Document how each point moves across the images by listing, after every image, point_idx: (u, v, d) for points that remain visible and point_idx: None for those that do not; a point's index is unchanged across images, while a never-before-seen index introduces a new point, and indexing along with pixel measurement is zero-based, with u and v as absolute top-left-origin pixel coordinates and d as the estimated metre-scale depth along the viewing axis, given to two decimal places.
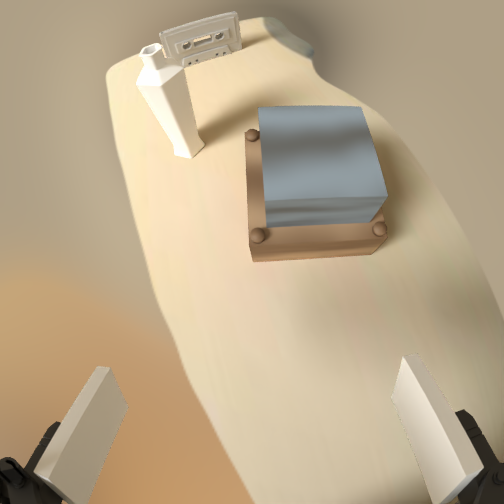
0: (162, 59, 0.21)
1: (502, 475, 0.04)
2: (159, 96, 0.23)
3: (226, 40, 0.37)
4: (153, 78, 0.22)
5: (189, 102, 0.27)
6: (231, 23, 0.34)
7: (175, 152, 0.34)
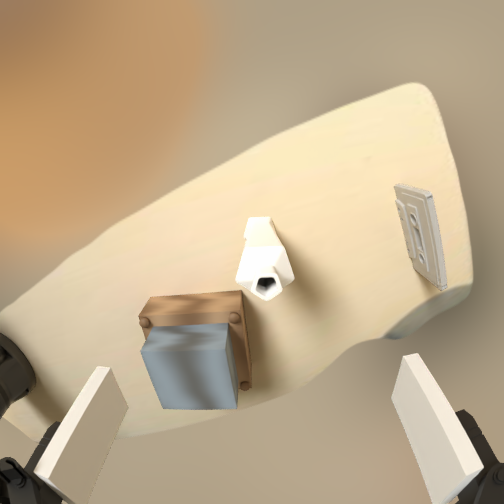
0: (262, 290, 0.22)
1: (502, 475, 0.04)
2: None
3: (419, 260, 0.33)
4: (245, 273, 0.23)
5: None
6: (433, 278, 0.30)
7: (249, 220, 0.34)
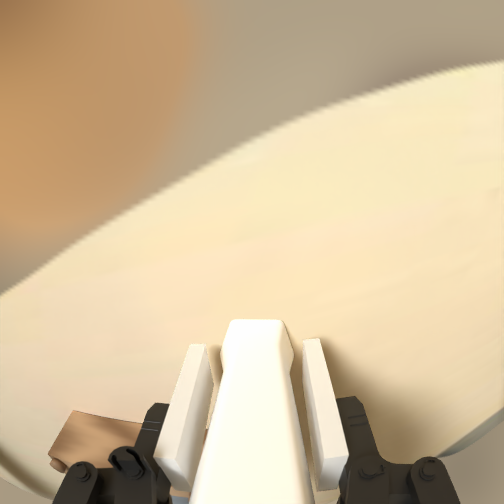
0: None
1: (369, 469, 0.06)
2: None
3: None
4: None
5: None
6: None
7: (231, 329, 0.14)
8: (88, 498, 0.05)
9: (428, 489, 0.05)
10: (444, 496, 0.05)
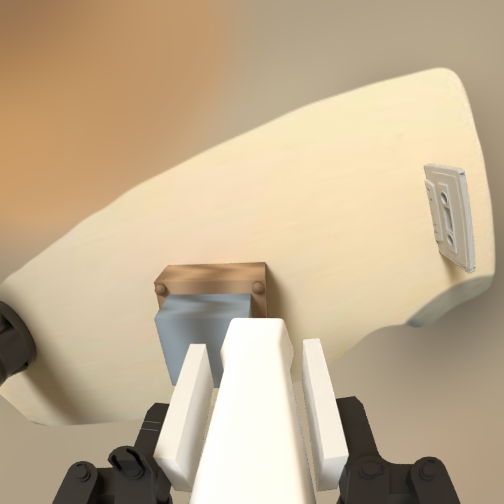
0: None
1: (369, 469, 0.06)
2: None
3: (447, 242, 0.31)
4: None
5: None
6: (461, 260, 0.28)
7: (231, 328, 0.14)
8: (88, 498, 0.05)
9: (428, 489, 0.05)
10: (444, 496, 0.05)
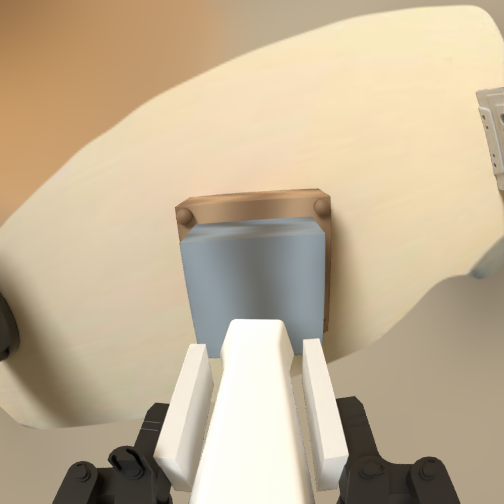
0: None
1: (369, 469, 0.06)
2: None
3: None
4: None
5: None
6: None
7: (231, 329, 0.14)
8: (88, 498, 0.05)
9: (428, 489, 0.05)
10: (444, 496, 0.05)
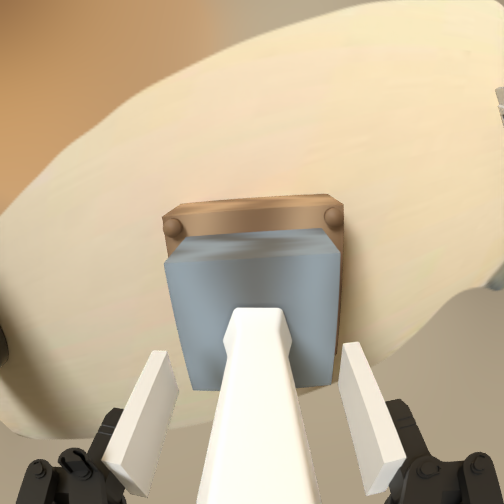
0: None
1: (426, 469, 0.06)
2: None
3: None
4: None
5: None
6: None
7: (234, 317, 0.15)
8: (46, 493, 0.05)
9: (477, 483, 0.04)
10: (490, 491, 0.04)
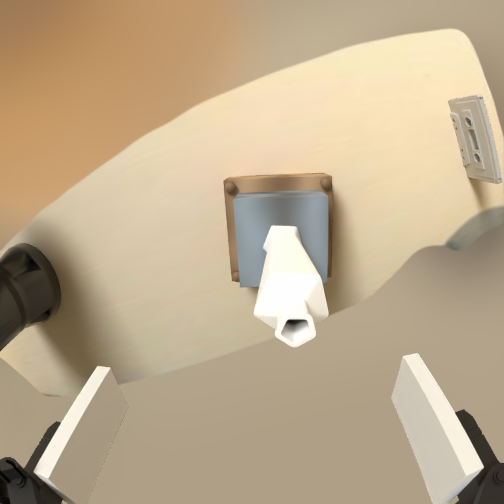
0: (288, 330, 0.16)
1: (502, 475, 0.04)
2: (259, 293, 0.19)
3: (474, 163, 0.32)
4: (267, 306, 0.17)
5: None
6: (489, 174, 0.29)
7: (271, 229, 0.28)
8: None
9: None
10: None
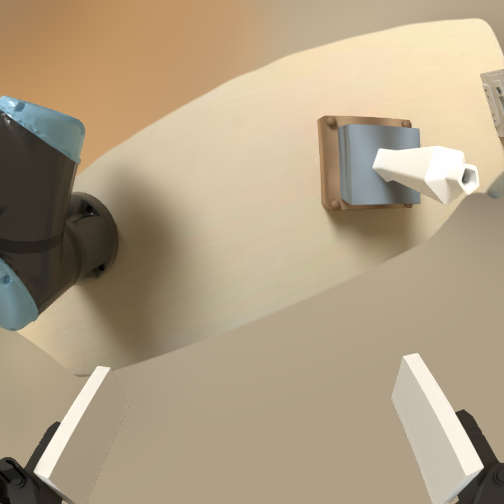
0: (456, 188, 0.17)
1: (502, 475, 0.04)
2: (418, 170, 0.20)
3: None
4: (436, 172, 0.18)
5: (417, 190, 0.23)
6: None
7: (380, 151, 0.29)
8: None
9: None
10: None
